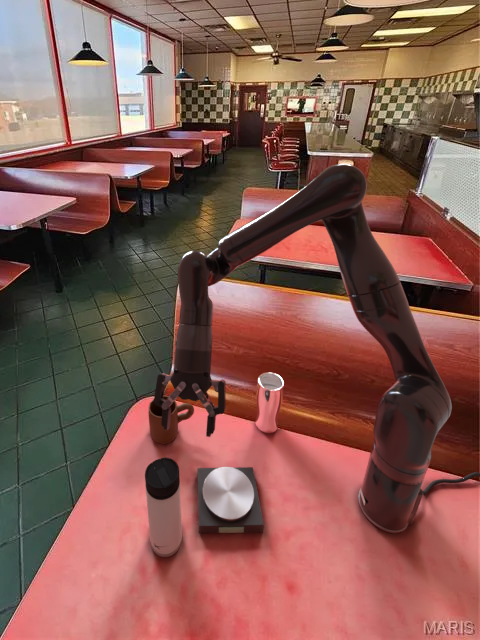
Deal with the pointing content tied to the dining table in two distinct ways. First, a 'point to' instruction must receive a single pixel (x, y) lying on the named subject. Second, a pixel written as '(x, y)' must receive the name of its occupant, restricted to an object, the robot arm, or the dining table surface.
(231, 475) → the scale pan
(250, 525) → the scale
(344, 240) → the robot arm
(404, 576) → the dining table surface
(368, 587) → the dining table surface
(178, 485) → the travel mug
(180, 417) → the mug
